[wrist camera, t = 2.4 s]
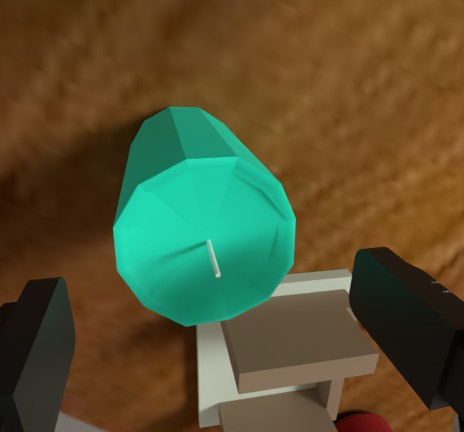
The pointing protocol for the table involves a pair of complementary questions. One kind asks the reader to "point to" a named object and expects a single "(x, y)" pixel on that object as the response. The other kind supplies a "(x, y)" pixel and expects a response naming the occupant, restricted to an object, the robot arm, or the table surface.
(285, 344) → the holder
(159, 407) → the table surface
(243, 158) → the candle
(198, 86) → the table surface
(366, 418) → the beverage can
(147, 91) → the table surface
